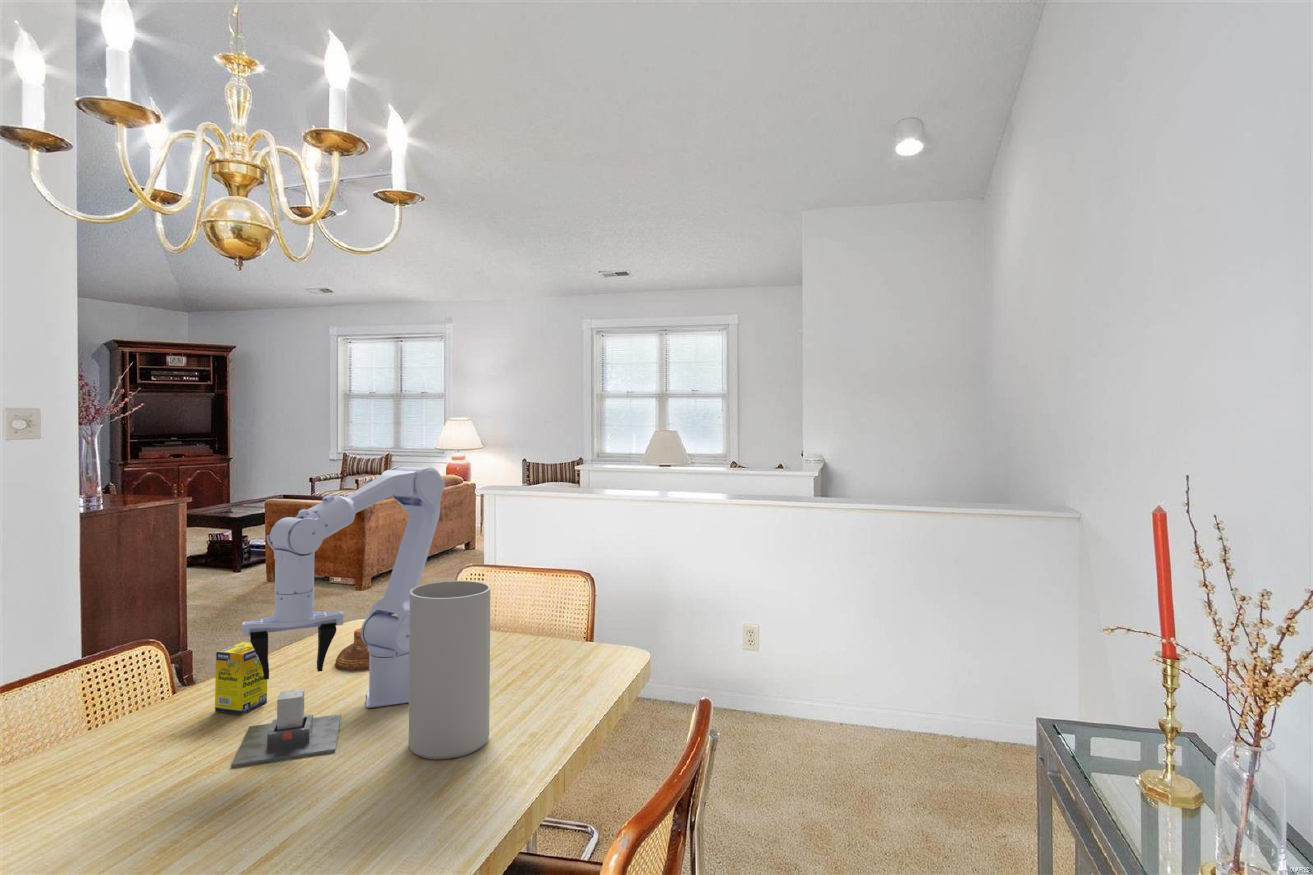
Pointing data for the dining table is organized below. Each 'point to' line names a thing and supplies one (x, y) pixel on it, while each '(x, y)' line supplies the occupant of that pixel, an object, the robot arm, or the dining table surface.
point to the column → (290, 710)
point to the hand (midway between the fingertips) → (293, 673)
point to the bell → (354, 655)
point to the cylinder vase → (449, 668)
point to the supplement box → (239, 680)
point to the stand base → (288, 741)
